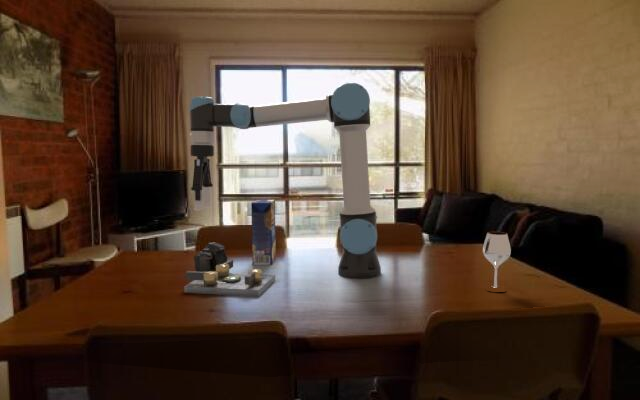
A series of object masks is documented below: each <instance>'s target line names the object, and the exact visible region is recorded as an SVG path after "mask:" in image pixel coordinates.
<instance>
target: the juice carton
mask: <svg viewBox="0 0 640 400" xmlns="http://www.w3.org/2000/svg"><path fill="white" fill-rule="evenodd" d="M250 205H251V210H250V211H251V249H252V250H251V251H252V256H251V257H252V266H272V265H273V263H274V262H275V260H276V258H277V256H276V255H277V254H276V253H277V251H276V246H277V245H276V243H277V242H276V199H256V200H254V201H252V202H251V204H250Z"/></svg>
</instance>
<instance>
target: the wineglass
mask: <svg viewBox="0 0 640 400" xmlns="http://www.w3.org/2000/svg"><path fill="white" fill-rule="evenodd" d="M511 251H512V248H511V244H510V240H509V236H508V232H503V231H489V232H487V233H486V236H485V239H484V243H483V246H482V254H483V256H484V257H485V259H486V260H487V261H488V262H489V263H490V264H491V265H493V267H494V275H493V276H494V279H493V281H494V282H493V286H492V287H493V288H497V287H498V268H499V267H500V266H501V265H502V264H503V263H505V262H506V261H508V259H509V258H510V257H511V253H512V252H511Z"/></svg>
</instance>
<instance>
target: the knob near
mask: <svg viewBox="0 0 640 400" xmlns="http://www.w3.org/2000/svg"><path fill="white" fill-rule="evenodd" d="M185 280H188V281H189V280H190V281H194V280H204V284H205V285H214V284H217V283H218V272H216V270H213V271H208V272H197V271H196V270H194V271H193V270H191V271H190V270H187V271H186V272H185Z"/></svg>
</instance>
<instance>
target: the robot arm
mask: <svg viewBox="0 0 640 400" xmlns="http://www.w3.org/2000/svg"><path fill="white" fill-rule="evenodd" d="M370 104H371V98H370V95H369V92H368V90H367V89H366V88H365V87H364V86H363V85H362V84H359V83H357V82H351V81H350V82H345V83H342V84H340V85H339V86H338V87H337V88H336V89H335V90H334V91H333V93H330V94H329V93H328V94H327V95H326V96H325V97H323V98H322V97H321V98H312V99H304V100H293V101H284V102H276V103H268V104H267V103H265V104H258V105H248V104H246V103H239V102H238V103H237V102H236V103H215V100H214V98H213V97H210V96H193V97H192V98H191V99H190V107H189V118H190V119H189V121H190V129H189V130H190V133H189V134H188V137H189V138H190V143H191V145H190V156H191V157H196V159H193V165H194V168H193V177H192V186H191V188H190V190H191V191H193V211H198V212H199V211H200V212H202V211H204V206H205V207H210V206H211V188H212V187H213V182H212V176H211V175H212V173H211V166H210V164H211V163H210V161H211V160H210V158H208V157H214V155H215V154H214V153H215V152H214V151H215V148H214V147H215V146H214V145H213V144H214V143H215V131H214V130H215V129H214V128H215V127H222V128H235V129H239V130H248V129H252V128H258V127H269V126H271V127H272V126H279V125H281V126H282V125H289V124H297V123H309V122H318V121H319V122H321V121H328V122H330V123H333V128H334V130H336V131H337V132H338V135H339V149H340V150H339V151H340V162H341V163H340V166H341V167H340V168H341V180H342V183H341V184H342V196H343V197H342V198H343V208H342V209H341V210H340V211H339V220H340V221H339V222H340V225H339V226H340V232H339V241H340V243H341V245H342V248H343V250H342V254H341V258H340V260H339V264H338V268H337V269H338V271H337V272H338V274H339V275H341V276H343V277H347V278H352V279H369V278H375V277H378V276H379V275H381V273H382V271H381V267H382V266H381V263H380V260H379V258H378V254H377V241H378V231H377V230H378V229H377V218H378V216H377V211H376V209H375V208H373V206H372V205H371V194H370V193H371V192H370V190H371V189H370V178H369V177H370V176H369V174H370V173H369V162H368V161H369V159H368V145H367V144H368V139H367V130H368V129H369V128H370V127H371V112H370Z"/></svg>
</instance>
